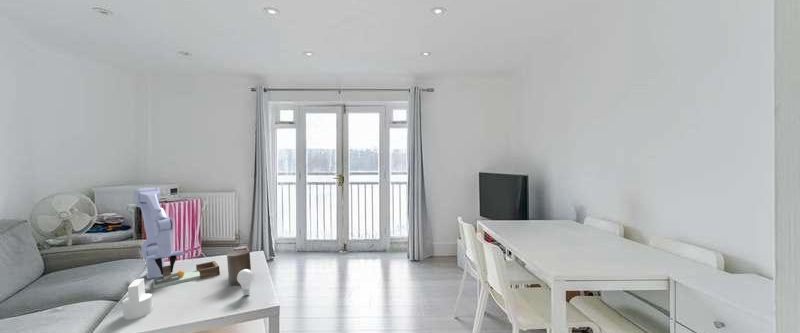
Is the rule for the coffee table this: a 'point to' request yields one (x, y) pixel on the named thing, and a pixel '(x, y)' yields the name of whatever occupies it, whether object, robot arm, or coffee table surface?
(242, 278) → the lightbulb
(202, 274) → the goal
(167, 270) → the block
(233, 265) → the pillar candle
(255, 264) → the coffee table surface
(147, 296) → the cylinder with rectangular tab
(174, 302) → the coffee table surface
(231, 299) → the coffee table surface
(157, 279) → the rail
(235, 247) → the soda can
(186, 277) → the plate
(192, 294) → the coffee table surface
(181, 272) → the ball
